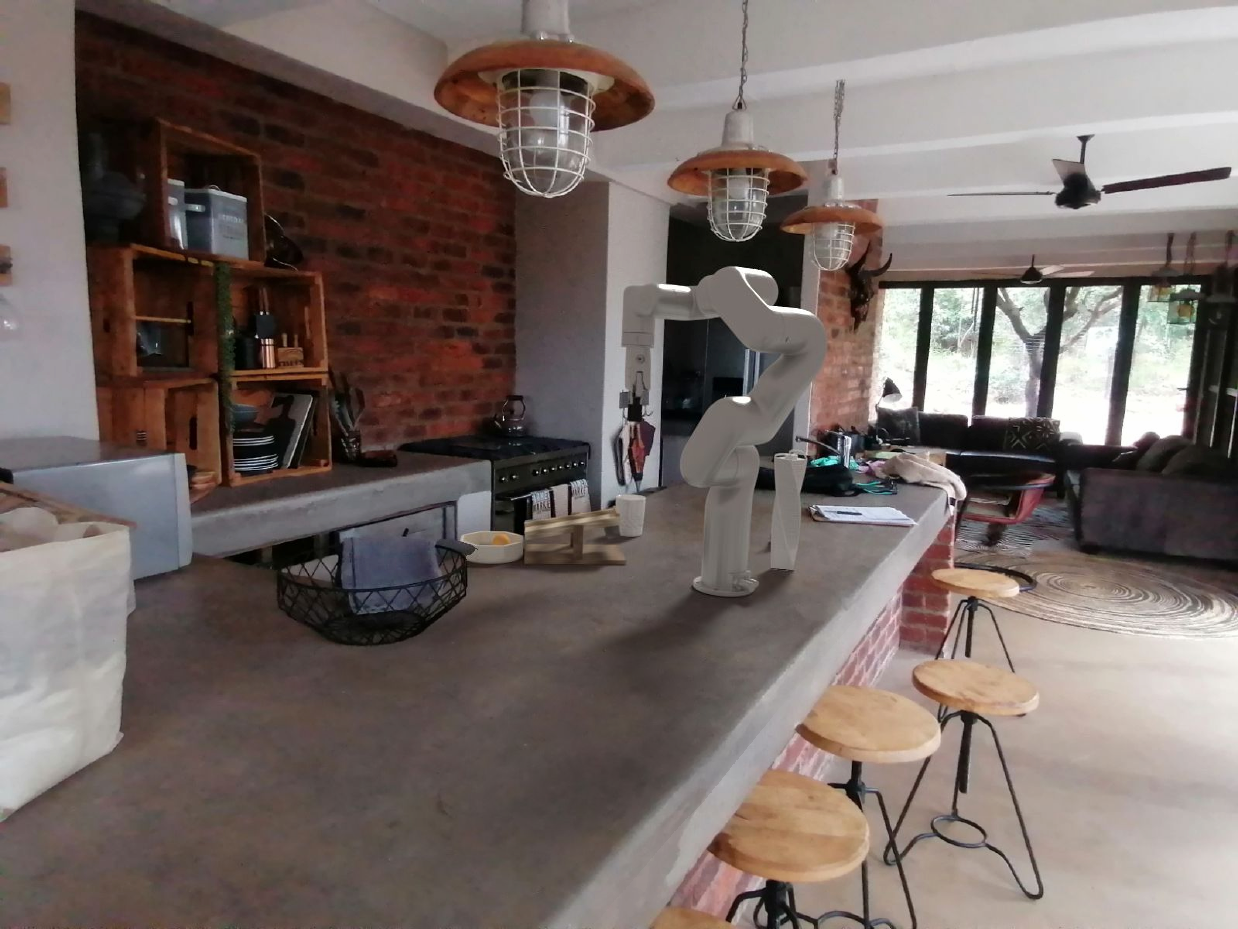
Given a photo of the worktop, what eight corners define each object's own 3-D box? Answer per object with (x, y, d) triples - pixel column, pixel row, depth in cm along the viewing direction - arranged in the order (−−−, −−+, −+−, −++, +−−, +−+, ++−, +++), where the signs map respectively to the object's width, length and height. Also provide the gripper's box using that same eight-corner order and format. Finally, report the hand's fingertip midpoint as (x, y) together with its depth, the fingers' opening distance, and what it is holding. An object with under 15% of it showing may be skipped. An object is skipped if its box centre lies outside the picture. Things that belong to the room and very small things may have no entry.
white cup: (641, 538, 206) (642, 500, 204) (611, 536, 207) (613, 498, 206) (646, 532, 214) (648, 495, 212) (617, 529, 215) (619, 493, 214)
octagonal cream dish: (523, 547, 192) (523, 531, 191) (523, 563, 178) (523, 546, 177) (462, 547, 190) (462, 530, 189) (457, 563, 176) (457, 545, 175)
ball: (515, 541, 183) (503, 529, 182) (504, 553, 181) (492, 541, 181) (509, 543, 187) (497, 531, 186) (498, 555, 185) (486, 543, 184)
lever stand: (618, 548, 194) (620, 512, 193) (625, 564, 181) (627, 525, 179) (524, 547, 192) (525, 511, 190) (524, 563, 178) (525, 524, 176)
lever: (615, 522, 197) (612, 500, 196) (623, 537, 182) (619, 513, 181) (527, 536, 195) (524, 514, 194) (527, 553, 180) (523, 529, 179)
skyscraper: (799, 573, 179) (809, 450, 175) (766, 570, 181) (774, 448, 176) (798, 564, 187) (807, 446, 183) (766, 561, 188) (775, 444, 184)
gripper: (659, 341, 174) (655, 425, 176) (649, 342, 188) (645, 419, 191) (625, 340, 173) (622, 424, 175) (617, 340, 187) (614, 418, 190)
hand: (634, 421), depth 183 cm, fingers closed
